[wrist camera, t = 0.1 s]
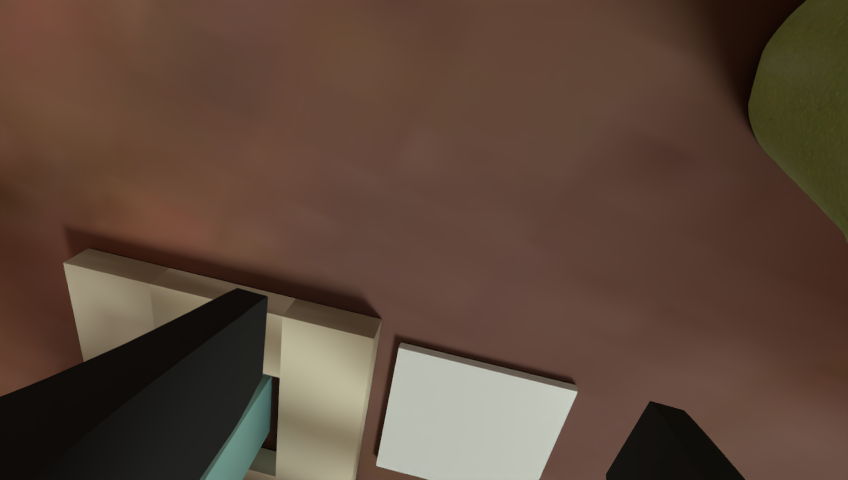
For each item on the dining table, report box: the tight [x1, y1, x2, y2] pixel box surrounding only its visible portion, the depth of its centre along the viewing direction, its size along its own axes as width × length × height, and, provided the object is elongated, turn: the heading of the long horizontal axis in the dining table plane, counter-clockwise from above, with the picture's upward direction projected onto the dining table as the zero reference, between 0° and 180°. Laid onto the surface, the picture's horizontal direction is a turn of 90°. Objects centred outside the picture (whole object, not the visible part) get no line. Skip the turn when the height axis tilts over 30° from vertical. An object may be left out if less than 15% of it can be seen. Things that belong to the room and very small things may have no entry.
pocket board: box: [63, 248, 382, 480], centre depth 24 cm, size 14×14×1 cm
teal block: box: [200, 374, 272, 480], centre depth 22 cm, size 4×4×7 cm
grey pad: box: [376, 342, 578, 480], centre depth 23 cm, size 8×8×1 cm
